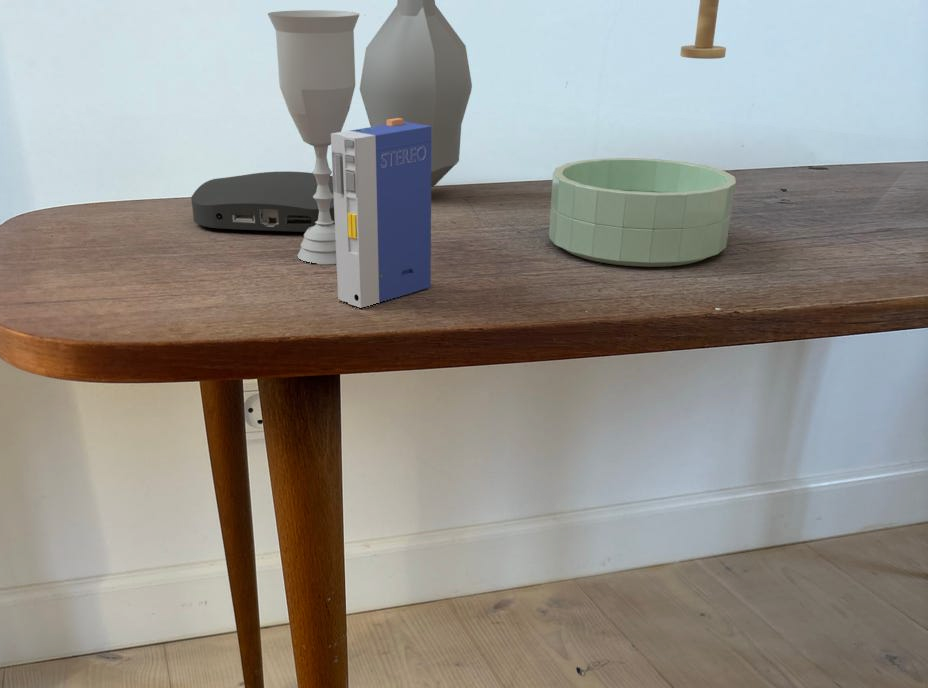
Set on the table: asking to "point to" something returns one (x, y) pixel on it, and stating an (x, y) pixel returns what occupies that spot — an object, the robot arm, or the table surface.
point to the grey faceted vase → (419, 78)
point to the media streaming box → (260, 202)
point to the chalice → (317, 99)
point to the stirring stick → (705, 34)
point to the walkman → (382, 211)
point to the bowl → (641, 211)
